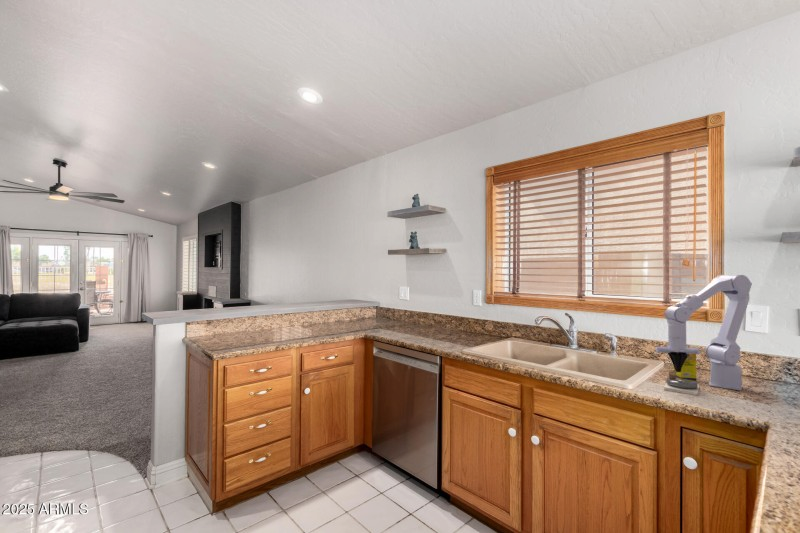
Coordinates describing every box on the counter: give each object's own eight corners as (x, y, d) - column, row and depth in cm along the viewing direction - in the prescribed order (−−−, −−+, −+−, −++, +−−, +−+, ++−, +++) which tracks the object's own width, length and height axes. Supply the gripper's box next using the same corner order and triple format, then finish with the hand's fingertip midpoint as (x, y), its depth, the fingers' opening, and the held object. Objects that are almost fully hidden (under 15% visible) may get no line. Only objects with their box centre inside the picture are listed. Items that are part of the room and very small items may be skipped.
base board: (698, 387, 146) (698, 384, 146) (697, 395, 136) (697, 392, 136) (667, 382, 152) (667, 379, 152) (664, 389, 142) (664, 386, 142)
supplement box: (696, 380, 155) (696, 353, 155) (680, 379, 156) (680, 353, 156) (688, 376, 161) (688, 350, 161) (673, 375, 162) (673, 350, 162)
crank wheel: (704, 388, 141) (704, 375, 141) (683, 389, 138) (683, 377, 138) (679, 380, 150) (679, 368, 150) (659, 382, 148) (659, 370, 148)
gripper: (660, 338, 146) (660, 372, 146) (704, 339, 142) (704, 375, 142) (653, 335, 153) (653, 368, 153) (694, 336, 149) (695, 370, 149)
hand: (677, 371), depth 148 cm, fingers closed
